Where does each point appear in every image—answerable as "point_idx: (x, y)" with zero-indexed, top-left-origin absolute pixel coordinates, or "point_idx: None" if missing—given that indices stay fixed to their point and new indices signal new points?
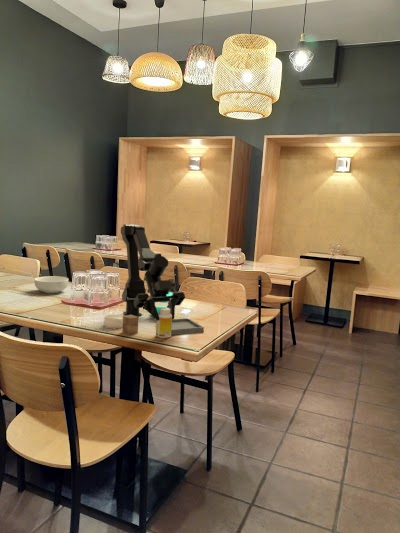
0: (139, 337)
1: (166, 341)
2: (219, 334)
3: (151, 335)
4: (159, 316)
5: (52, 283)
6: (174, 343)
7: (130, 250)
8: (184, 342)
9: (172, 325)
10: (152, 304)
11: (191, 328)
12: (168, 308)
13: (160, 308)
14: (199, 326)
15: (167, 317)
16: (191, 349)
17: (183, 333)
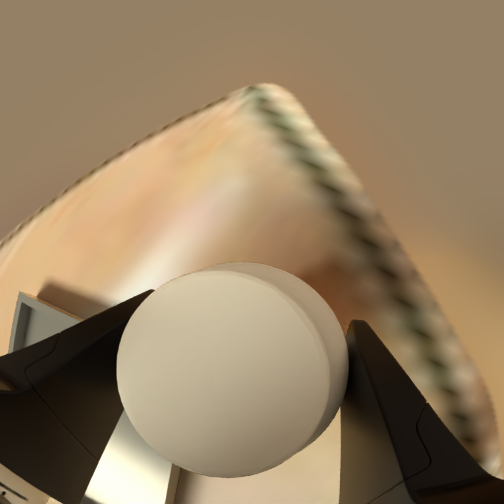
0: None
1: (308, 252)
2: (25, 230)
3: None
4: (344, 338)
5: None
6: (285, 200)
7: None
8: (222, 192)
9: (101, 463)
10: (475, 488)
11: (64, 313)
12: (135, 361)
13: (283, 437)
14: (19, 326)
15: (260, 264)
16: (261, 107)
17: None
